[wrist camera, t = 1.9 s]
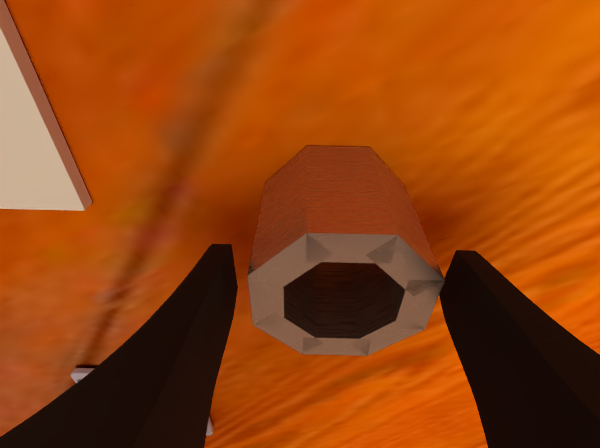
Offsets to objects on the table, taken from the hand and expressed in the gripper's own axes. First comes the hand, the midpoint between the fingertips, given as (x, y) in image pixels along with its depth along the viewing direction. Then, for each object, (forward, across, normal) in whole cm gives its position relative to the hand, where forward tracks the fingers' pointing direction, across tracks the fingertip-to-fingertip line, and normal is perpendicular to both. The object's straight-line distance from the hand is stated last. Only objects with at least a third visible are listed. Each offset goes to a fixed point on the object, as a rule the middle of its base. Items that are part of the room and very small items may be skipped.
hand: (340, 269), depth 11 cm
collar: (+4, 0, 0) cm, 4 cm away
